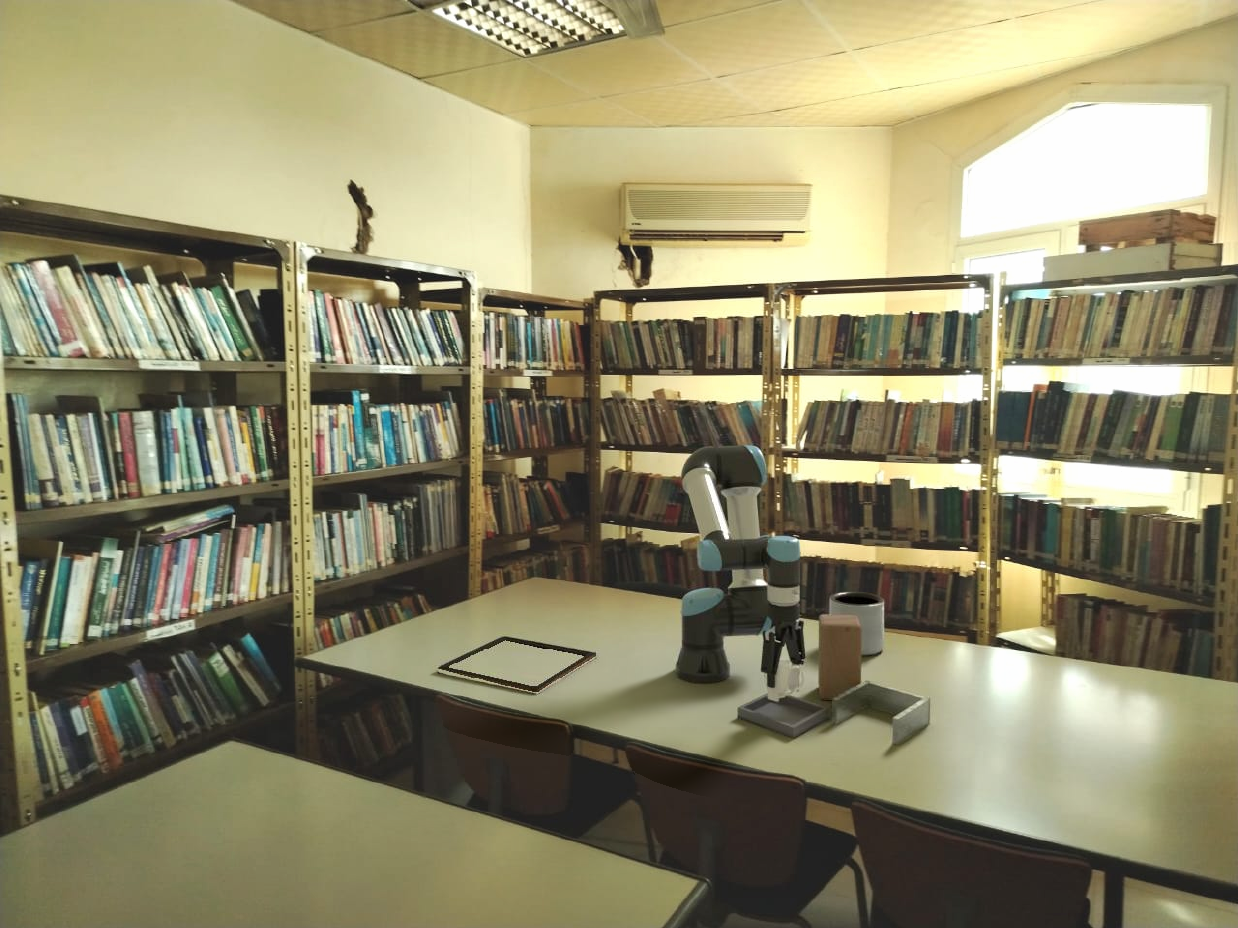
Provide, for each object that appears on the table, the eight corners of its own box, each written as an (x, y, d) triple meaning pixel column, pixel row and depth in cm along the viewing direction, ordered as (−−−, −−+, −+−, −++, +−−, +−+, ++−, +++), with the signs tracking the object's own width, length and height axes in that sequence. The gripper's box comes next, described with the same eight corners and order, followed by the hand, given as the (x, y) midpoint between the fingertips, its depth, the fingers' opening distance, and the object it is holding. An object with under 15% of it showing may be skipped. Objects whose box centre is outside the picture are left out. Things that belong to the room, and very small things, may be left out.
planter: (895, 649, 234) (896, 599, 232) (860, 661, 225) (861, 608, 223) (852, 636, 247) (852, 588, 245) (817, 646, 238) (818, 596, 236)
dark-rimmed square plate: (428, 679, 217) (427, 669, 217) (493, 641, 250) (493, 633, 250) (549, 699, 203) (549, 688, 203) (602, 656, 236) (602, 647, 235)
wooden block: (861, 703, 195) (862, 626, 193) (820, 700, 197) (820, 624, 195) (857, 688, 205) (858, 614, 203) (818, 685, 207) (818, 612, 205)
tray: (737, 717, 188) (737, 707, 188) (773, 699, 198) (774, 689, 198) (793, 738, 176) (793, 727, 176) (829, 718, 187) (829, 707, 186)
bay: (831, 722, 184) (832, 698, 184) (866, 703, 195) (866, 680, 194) (897, 745, 172) (897, 719, 172) (929, 722, 183) (930, 698, 183)
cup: (759, 690, 190) (759, 657, 190) (799, 690, 190) (800, 657, 190) (765, 699, 183) (766, 665, 183) (807, 699, 183) (808, 666, 183)
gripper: (771, 613, 175) (771, 711, 177) (821, 596, 189) (820, 687, 191) (744, 607, 180) (744, 702, 182) (794, 590, 194) (794, 679, 196)
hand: (783, 694), depth 187 cm, fingers closed on cup, 8 cm apart
